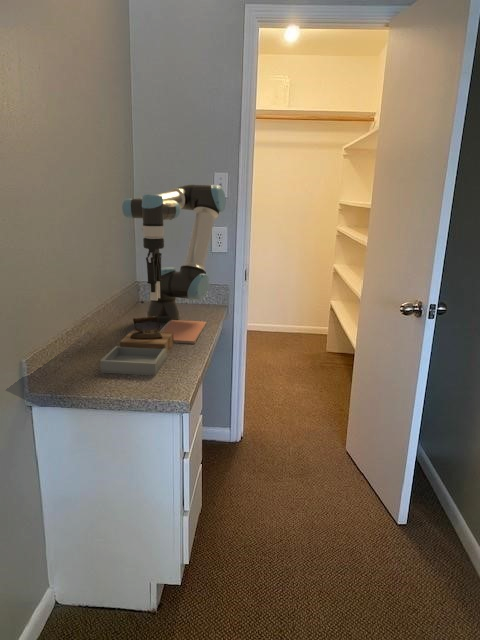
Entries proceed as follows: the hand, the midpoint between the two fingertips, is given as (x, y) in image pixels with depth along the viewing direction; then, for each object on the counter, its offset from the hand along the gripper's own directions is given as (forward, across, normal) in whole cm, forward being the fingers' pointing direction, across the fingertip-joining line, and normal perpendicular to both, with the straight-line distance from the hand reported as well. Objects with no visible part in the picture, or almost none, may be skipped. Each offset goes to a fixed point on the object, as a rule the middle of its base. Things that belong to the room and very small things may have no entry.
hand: (155, 298), depth 173 cm
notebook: (+17, -11, +8) cm, 22 cm away
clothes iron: (+12, +12, -1) cm, 17 cm away
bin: (+17, +27, 0) cm, 32 cm away
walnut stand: (+17, +12, 0) cm, 20 cm away
